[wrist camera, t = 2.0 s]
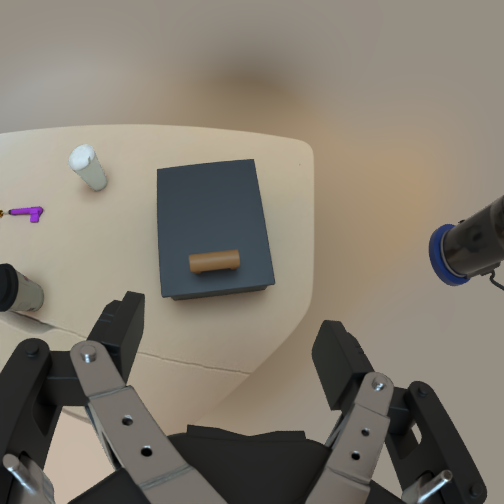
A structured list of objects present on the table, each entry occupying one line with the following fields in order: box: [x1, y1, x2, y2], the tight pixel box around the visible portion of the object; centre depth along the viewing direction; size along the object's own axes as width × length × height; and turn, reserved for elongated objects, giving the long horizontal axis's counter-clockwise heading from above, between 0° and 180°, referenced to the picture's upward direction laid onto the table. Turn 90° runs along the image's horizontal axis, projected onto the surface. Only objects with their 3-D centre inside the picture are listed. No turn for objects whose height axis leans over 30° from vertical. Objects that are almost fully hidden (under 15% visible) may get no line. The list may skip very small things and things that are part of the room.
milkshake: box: [68, 144, 107, 191], centre depth 40 cm, size 4×5×10 cm
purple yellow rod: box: [0, 206, 43, 222], centre depth 41 cm, size 3×1×16 cm
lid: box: [157, 159, 275, 298], centre depth 33 cm, size 17×13×5 cm
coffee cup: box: [0, 263, 44, 312], centre depth 33 cm, size 7×7×10 cm
